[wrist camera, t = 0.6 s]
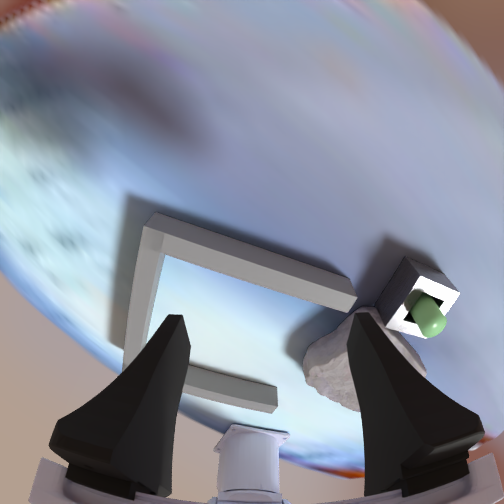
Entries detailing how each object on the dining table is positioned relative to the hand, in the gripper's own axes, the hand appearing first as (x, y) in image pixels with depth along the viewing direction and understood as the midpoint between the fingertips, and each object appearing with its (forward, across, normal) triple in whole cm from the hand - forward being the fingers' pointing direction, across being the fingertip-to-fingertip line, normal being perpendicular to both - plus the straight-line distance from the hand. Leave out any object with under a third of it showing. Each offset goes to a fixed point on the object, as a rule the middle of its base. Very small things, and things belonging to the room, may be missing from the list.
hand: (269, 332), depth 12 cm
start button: (+10, -12, +6) cm, 17 cm away
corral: (+9, +4, +9) cm, 14 cm away
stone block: (+10, -9, +15) cm, 20 cm away
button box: (+10, -12, +6) cm, 17 cm away
